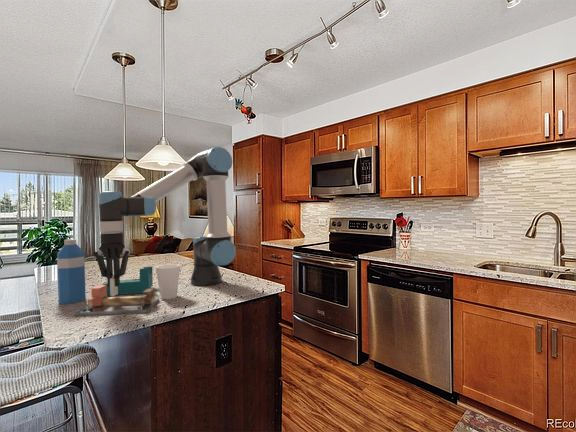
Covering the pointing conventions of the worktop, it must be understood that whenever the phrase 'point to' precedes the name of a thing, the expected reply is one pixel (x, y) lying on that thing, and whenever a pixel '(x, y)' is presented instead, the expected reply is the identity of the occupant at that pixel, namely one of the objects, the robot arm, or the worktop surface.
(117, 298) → the beam gauge
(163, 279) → the foam cup
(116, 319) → the worktop surface
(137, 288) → the teal l-shaped bracket
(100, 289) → the sliding jaw
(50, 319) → the worktop surface
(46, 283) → the worktop surface
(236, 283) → the worktop surface
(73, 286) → the water bottle
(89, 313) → the bolt plate
